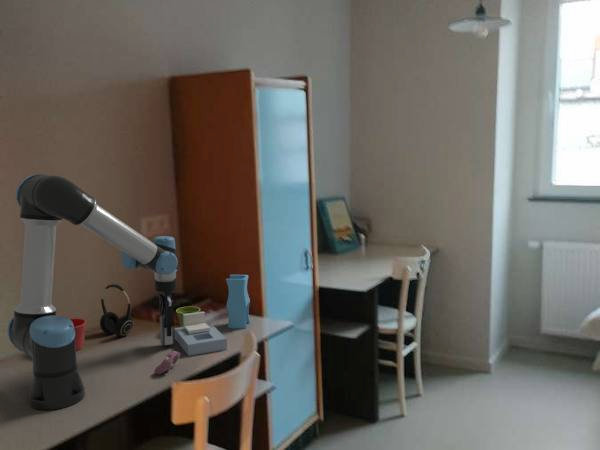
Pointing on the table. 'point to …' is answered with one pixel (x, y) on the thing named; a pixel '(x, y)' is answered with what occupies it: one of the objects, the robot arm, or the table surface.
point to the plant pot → (186, 312)
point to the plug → (162, 334)
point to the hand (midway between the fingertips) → (167, 342)
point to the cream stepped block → (195, 322)
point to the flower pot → (79, 332)
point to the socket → (201, 341)
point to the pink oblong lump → (168, 362)
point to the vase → (238, 301)
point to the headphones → (116, 318)
